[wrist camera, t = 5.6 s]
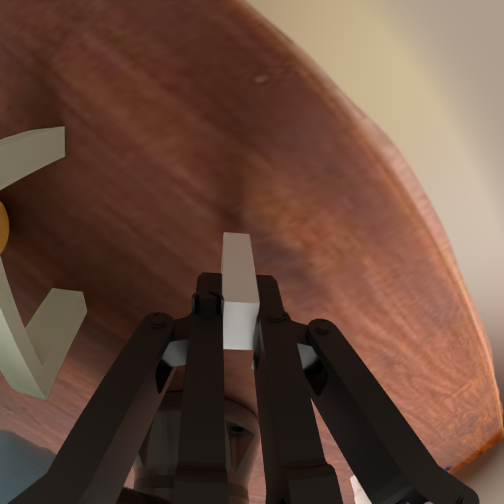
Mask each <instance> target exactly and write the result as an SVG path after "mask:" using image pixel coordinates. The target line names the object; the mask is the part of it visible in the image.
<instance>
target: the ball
mask: <svg viewBox="0 0 504 504" xmlns="http://www.w3.org/2000/svg"><path fill="white" fill-rule="evenodd" d="M8 235H9V219H8V215H7V212H6V209H5V207H4V205H3V204H2V203H1V201H0V254H1V253H2V252H3V250H4V248H5V246H6V243H7V240H8Z"/></svg>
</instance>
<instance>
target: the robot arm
mask: <svg viewBox="0 0 504 504" xmlns="http://www.w3.org/2000/svg"><path fill="white" fill-rule="evenodd" d="M253 344H254V355H253V361H252V366H251V369H254V375H255V385H256V395H257V405H258V415H259V424H258V420H257V418H256V417H255V416H254V414H253V413H252V412H251V411H249V410H248V409H247V408H245V407H243V406H242V405H240V404H238V403H235V402H233V401H230V400H227V399H224V360H223V349H235V350H252V349H253ZM185 364H186V366H185V376H184V386H183V392H168V393H166V390H167V388H168V386H169V384H170V382H171V380H172V378H173V375H174V373H175V371H176V369H177V366H180V365H185ZM310 397H311V398H310ZM311 399H312V401H313V402H314V404H315V406H316V408H317V409H318V411H319V413H320V415H321V417H322V418H323V420H324V422H325V424H326V426H327V427H328V429H329V431H330V433H331V434H332V436H333V438H334V440H335V441H336V443H337V445H338V447H339V449H340V450H341V452H342V454H343V456H344V457H345V459H346V461H347V463H348V464H349V466H350V468H351V470H352V471H353V473H354V475H355V476H356V478H357V480H358V482H359V483H360V485H361V487H362V489H363V490H364V492H365V494H366V495H367V497H368V499H369V500H370V502H371V503H372V504H479V498H478V495H477V494H476V493H475V491H473V490H472V489H471V488H469V487H468V486H467V485H465V484H464V483H462V482H461V481H459V480H458V479H456V478H455V477H454V476H452V475H451V474H449V473H448V472H447V471H445V470H444V469H442V468H441V467H440V466H438V465H437V463H436V462H435V460H434V459H433V457H432V456H431V455H430V453H429V452H428V450H427V449H426V448H425V446H424V445H423V443H422V442H421V440H420V439H419V438H418V436H417V435H416V433H415V432H414V431H413V429H412V428H411V427H410V425H409V424H408V422H407V421H406V420H405V418H404V417H403V415H402V414H401V413H400V411H399V410H398V409H397V407H396V406H395V404H394V403H393V402H392V400H391V399H390V398H389V396H388V395H387V394H386V392H385V391H384V389H383V388H382V387H381V385H380V384H379V383H378V381H377V380H376V379H375V377H374V376H373V375H372V373H371V372H370V371H369V369H368V368H367V366H366V365H365V364H364V362H363V361H362V360H361V358H360V357H359V356H358V354H357V353H356V352H355V350H354V349H353V348H352V346H351V345H350V344H349V342H348V341H347V340H346V338H345V337H344V336H343V335H342V333H341V332H340V331H339V329H338V328H337V327H336V325H334V324H333V323H332V322H330V321H328V320H325V319H314V320H312V321H311V322H310V323H309V324H308V325H304V324H300V323H297V322H294V321H292V320H291V318H290V316H289V314H288V313H286V312H285V311H284V308H283V304H282V300H281V296H280V292H279V289H278V284H277V281H276V280H275V279H274V278H273V277H272V276H269V275H255V268H254V261H253V255H252V248H251V242H250V235H249V234H241V233H227V232H224V235H223V248H222V262H221V273H205V272H203V273H202V274H201V275H200V276H199V277H198V280H197V287H196V293H194V294H193V296H192V313H191V314H190V315H188V316H187V317H184V318H181V319H175V320H173V318H172V317H171V316H170V315H168V314H165V313H160V312H157V313H152V314H149V315H147V316H146V317H145V318H144V319H143V320H142V322H141V323H140V325H139V326H138V328H137V329H136V331H135V332H134V333H133V335H132V336H131V338H130V339H129V341H128V342H127V344H126V345H125V347H124V348H123V350H122V351H121V353H120V354H119V356H118V357H117V359H116V360H115V362H114V363H113V365H112V366H111V368H110V369H109V371H108V373H107V374H106V376H105V377H104V379H103V380H102V382H101V383H100V385H99V387H98V388H97V390H96V391H95V393H94V394H93V396H92V398H91V399H90V401H89V402H88V404H87V406H86V407H85V409H84V410H83V412H82V414H81V415H80V417H79V418H78V420H77V422H76V423H75V425H74V427H73V428H72V430H71V432H70V433H69V435H68V437H67V438H66V440H65V442H64V443H63V445H62V447H61V449H60V450H59V452H58V454H57V455H56V454H55V453H54V452H52V451H51V450H49V449H47V448H43V447H39V446H37V445H35V444H33V443H32V442H30V441H28V440H26V439H24V438H23V437H21V436H19V435H17V434H16V433H14V432H12V431H9V430H0V504H249V497H248V482H249V479H250V475H251V472H252V469H253V465H254V462H255V458H256V455H257V451H258V448H259V444H260V434H261V444H262V453H263V463H264V472H265V481H266V504H343V501H342V496H341V492H340V488H339V483H338V479H337V475H336V472H335V469H334V468H333V466H332V465H330V464H328V463H327V462H326V460H325V457H324V453H323V448H322V444H321V440H320V436H319V431H318V427H317V423H316V419H315V415H314V410H313V406H312V402H311ZM259 425H260V433H259ZM132 465H133V468H134V472H135V480H134V489H131V488H128V487H125V486H123V485H124V483H125V481H126V479H127V476H128V474H129V472H130V470H131V467H132Z"/></svg>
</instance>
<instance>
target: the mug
mask: <svg viewBox="0 0 504 504" xmlns="http://www.w3.org/2000/svg"><path fill="white" fill-rule="evenodd" d="M350 480H351V483H352V487H353V490H354V494H355V498H354V499H355V503H356V504H372V503H371V502H370V500H369V499H368V497H367V495H366V494H365V492H364V490H363V489H362V487H361V485H360V483H359V482H358V480H357V478H356V476H355V475H353V476H352V477H351V478H350Z"/></svg>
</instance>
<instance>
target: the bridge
mask: <svg viewBox="0 0 504 504" xmlns="http://www.w3.org/2000/svg"><path fill="white" fill-rule="evenodd" d="M63 157H65V126H64V127H53V128H44V129H36V130H29V131H26V132H22V133H19V134H16V135H13V136H9V137H6V138H3V139H0V190H2V189H3V188H5V187H7V186H9V185H10V184H12V183H14V182H16V181H17V180H19V179H21V178H23V177H25V176H27V175H29V174H31V173H32V172H34V171H36V170H38V169H40V168H42V167H44V166H46V165H48V164H50V163H52V162H54V161H56V160H59V159H61V158H63ZM87 312H88V311H87V307H86V303H85V299H84V295H83V292H80V291H72V290H64V289H56V288H52V289H51V291H50V292H49V293H48V295H47V296H46V298H45V299H44V301H43V302H42V303H41V305H40V306H39V308H38V309H37V311H36V312H35V314H34V315H33V317H32V318H31V320H30V321H29V323H28V324H27V326H26V328H24V325H23V323H22V320H21V318H20V315H19V312H18V310H17V307H16V304H15V301H14V299H13V296H12V293H11V290H10V287H9V284H8V280H7V277H6V274H5V271H4V267H3V264H2V260H1V256H0V370H1V372H2V374H3V375H4V377H5V379H6V380H7V382H8V384H9V385H10V387H11V388H12V390H15V391H18V392H21V393H24V394H27V395H30V396H33V397H36V398H40V399H43V400H47V399H48V396H49V394H50V391H51V389H52V386H53V384H54V382H55V379H56V377H57V375H58V372H59V370H60V368H61V366H62V363H63V361H64V359H65V357H66V355H67V352H68V350H69V348H70V346H71V344H72V342H73V340H74V338H75V336H76V334H77V332H78V330H79V328H80V326H81V324H82V322H83V320H84V318H85V316H86V314H87Z"/></svg>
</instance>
